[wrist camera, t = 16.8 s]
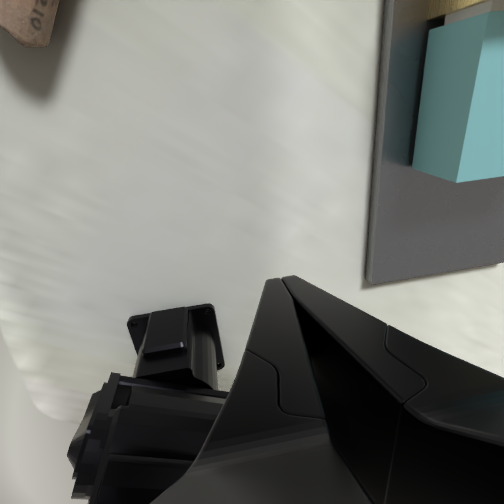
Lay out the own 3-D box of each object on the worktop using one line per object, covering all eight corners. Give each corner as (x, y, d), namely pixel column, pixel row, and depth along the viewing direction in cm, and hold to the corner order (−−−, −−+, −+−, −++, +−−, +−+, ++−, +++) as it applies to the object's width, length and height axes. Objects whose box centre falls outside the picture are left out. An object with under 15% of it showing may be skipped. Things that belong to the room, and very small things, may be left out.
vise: (501, 255, 27) (535, 272, 24) (365, 278, 25) (384, 299, 23) (640, -232, 15) (735, -304, 12) (400, -226, 14) (448, -303, 11)
